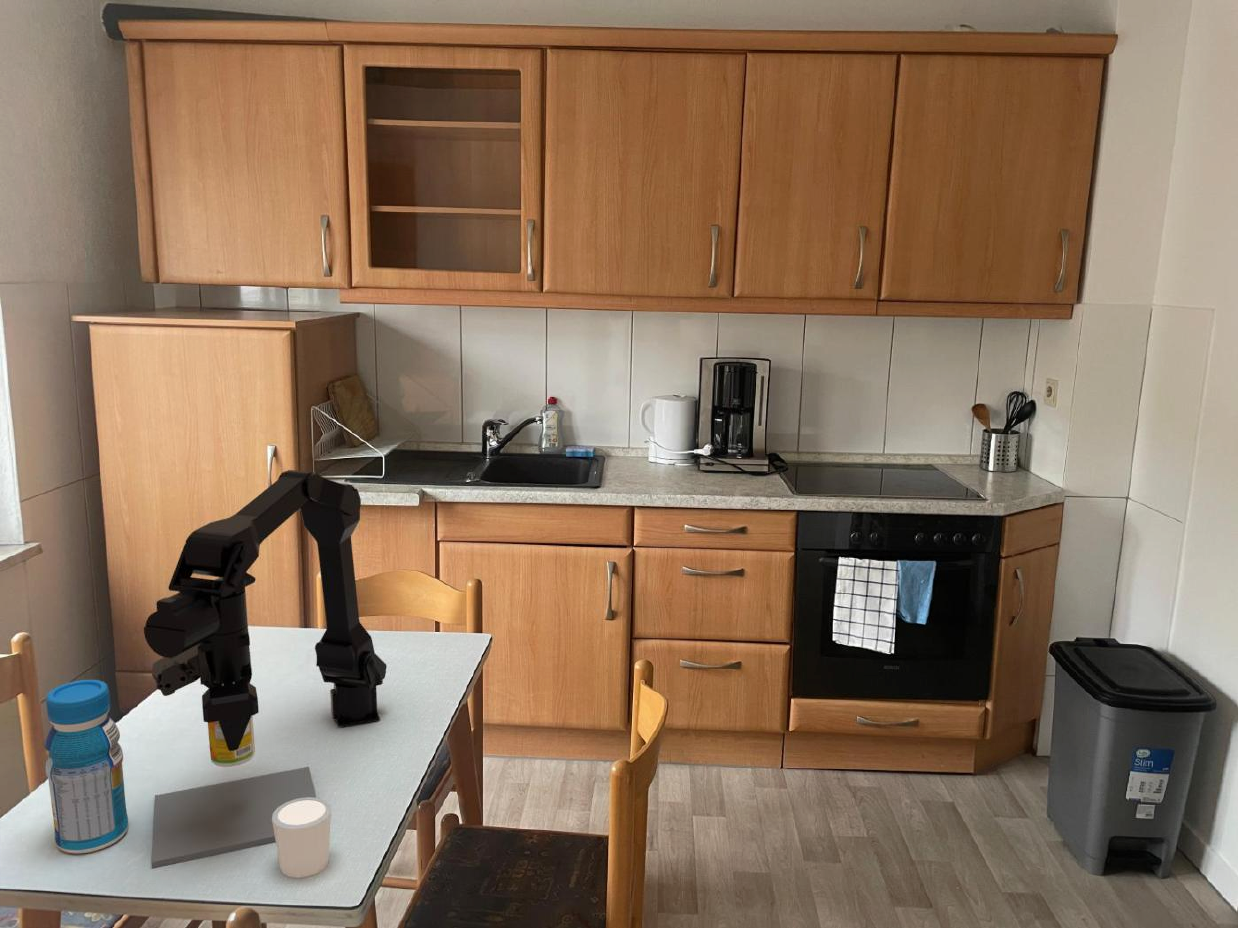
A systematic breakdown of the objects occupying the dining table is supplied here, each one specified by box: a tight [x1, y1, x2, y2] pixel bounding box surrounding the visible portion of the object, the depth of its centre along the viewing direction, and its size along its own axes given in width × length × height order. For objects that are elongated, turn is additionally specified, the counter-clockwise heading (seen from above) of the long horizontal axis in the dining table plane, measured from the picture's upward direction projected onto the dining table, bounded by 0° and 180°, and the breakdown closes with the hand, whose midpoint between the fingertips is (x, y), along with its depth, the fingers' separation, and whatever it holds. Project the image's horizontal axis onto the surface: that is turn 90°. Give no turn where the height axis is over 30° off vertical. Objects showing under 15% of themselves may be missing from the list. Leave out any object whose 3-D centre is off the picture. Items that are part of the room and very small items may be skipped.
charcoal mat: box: [150, 766, 318, 869], centre depth 126 cm, size 20×16×1 cm
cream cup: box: [272, 797, 332, 879], centre depth 116 cm, size 7×7×7 cm
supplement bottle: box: [207, 682, 256, 768], centre depth 124 cm, size 5×5×10 cm
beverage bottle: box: [44, 679, 129, 854], centre depth 119 cm, size 8×8×20 cm
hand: (232, 739), depth 124 cm, fingers closed on supplement bottle, 5 cm apart
